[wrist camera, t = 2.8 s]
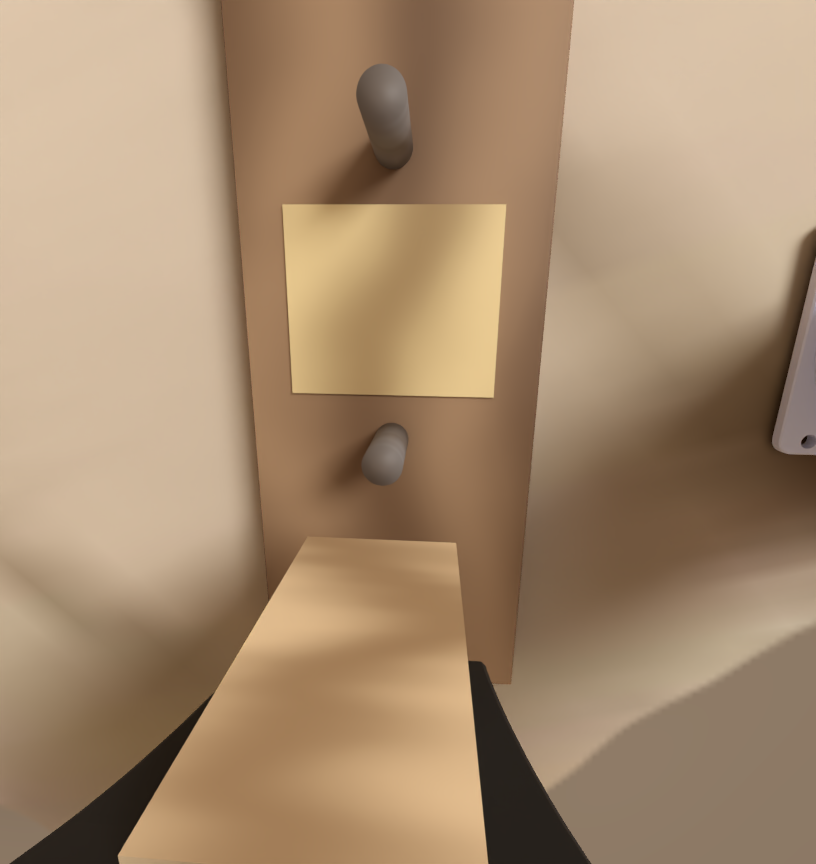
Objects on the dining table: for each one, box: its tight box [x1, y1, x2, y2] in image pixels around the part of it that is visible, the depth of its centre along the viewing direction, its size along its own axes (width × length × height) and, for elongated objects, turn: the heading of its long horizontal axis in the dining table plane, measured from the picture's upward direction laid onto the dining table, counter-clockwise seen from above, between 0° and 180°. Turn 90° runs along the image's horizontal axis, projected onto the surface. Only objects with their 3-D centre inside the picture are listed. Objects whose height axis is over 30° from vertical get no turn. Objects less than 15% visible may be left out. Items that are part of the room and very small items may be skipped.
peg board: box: [221, 0, 574, 684], centre depth 13 cm, size 10×30×4 cm, turn 179°
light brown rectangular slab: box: [118, 537, 488, 864], centre depth 9 cm, size 4×6×7 cm
